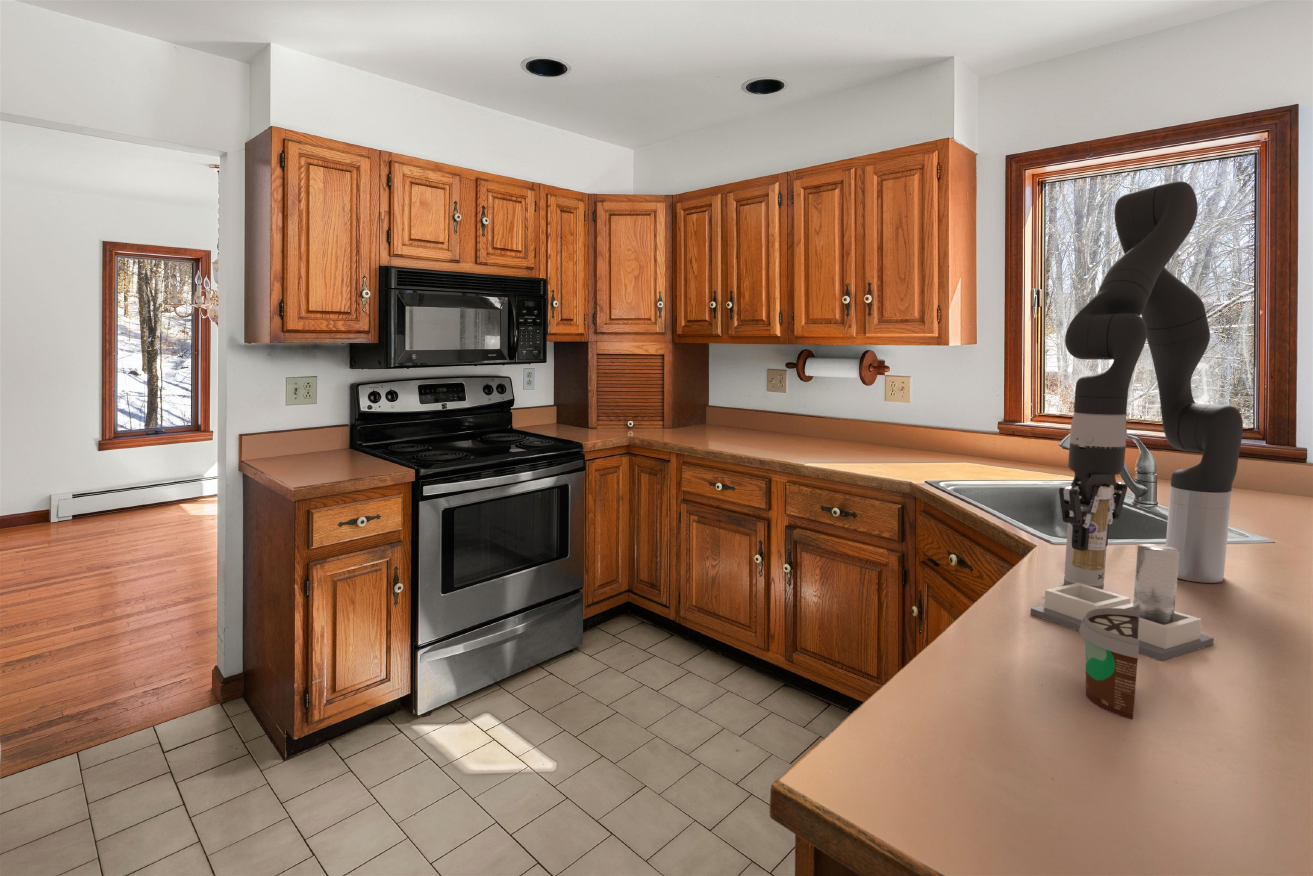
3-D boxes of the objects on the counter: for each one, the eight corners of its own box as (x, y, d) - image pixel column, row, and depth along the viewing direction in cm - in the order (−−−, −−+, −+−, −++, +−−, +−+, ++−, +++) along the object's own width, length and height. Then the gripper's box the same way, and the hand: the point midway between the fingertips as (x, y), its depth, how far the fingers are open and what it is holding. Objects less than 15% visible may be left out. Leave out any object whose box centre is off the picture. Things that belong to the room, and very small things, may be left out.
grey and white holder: (1081, 602, 122) (1082, 579, 121) (1213, 644, 104) (1215, 618, 103) (1030, 614, 116) (1031, 590, 115) (1161, 660, 98) (1163, 633, 98)
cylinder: (1143, 625, 108) (1150, 542, 107) (1179, 636, 104) (1187, 550, 103) (1123, 630, 106) (1130, 546, 105) (1159, 642, 102) (1166, 554, 100)
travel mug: (1111, 593, 126) (1119, 483, 124) (1071, 591, 127) (1078, 482, 125) (1097, 582, 132) (1104, 477, 130) (1058, 580, 133) (1065, 476, 131)
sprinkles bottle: (1074, 569, 112) (1080, 486, 111) (1069, 562, 116) (1075, 481, 115) (1107, 573, 110) (1114, 488, 109) (1101, 565, 115) (1108, 483, 113)
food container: (1078, 672, 95) (1083, 600, 93) (1134, 684, 91) (1140, 609, 90) (1070, 709, 84) (1076, 629, 83) (1132, 724, 81) (1139, 641, 80)
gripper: (1102, 437, 118) (1094, 537, 119) (1045, 441, 111) (1038, 547, 113) (1149, 442, 111) (1140, 548, 113) (1091, 447, 105) (1083, 559, 107)
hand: (1089, 547), depth 113 cm, fingers closed on sprinkles bottle, 4 cm apart
